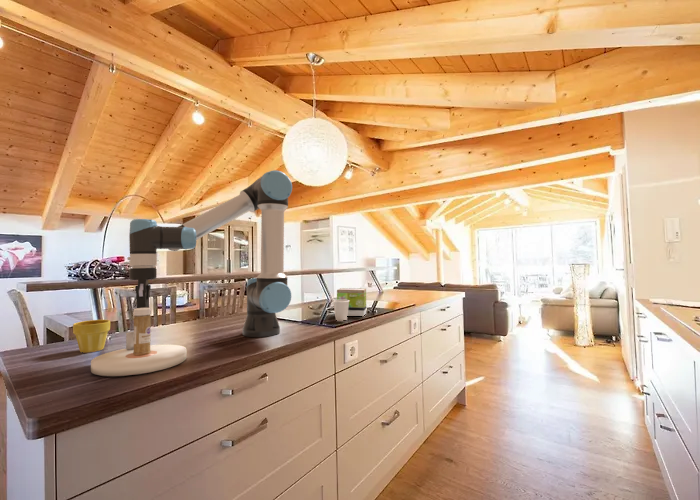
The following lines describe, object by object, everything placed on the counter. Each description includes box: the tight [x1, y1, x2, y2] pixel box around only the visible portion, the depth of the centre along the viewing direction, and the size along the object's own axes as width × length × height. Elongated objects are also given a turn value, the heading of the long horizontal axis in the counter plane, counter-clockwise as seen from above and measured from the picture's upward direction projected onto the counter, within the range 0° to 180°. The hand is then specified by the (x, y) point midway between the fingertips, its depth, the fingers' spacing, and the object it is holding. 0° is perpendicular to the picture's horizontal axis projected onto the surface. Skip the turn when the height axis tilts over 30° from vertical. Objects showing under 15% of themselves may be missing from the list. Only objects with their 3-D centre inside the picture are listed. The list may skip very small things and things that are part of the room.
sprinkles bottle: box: [132, 307, 152, 356], centre depth 102 cm, size 5×5×14 cm
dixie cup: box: [332, 299, 349, 322], centre depth 173 cm, size 8×8×10 cm
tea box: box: [336, 287, 367, 317], centre depth 188 cm, size 15×10×15 cm
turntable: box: [90, 331, 188, 377], centre depth 102 cm, size 24×24×7 cm
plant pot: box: [72, 319, 111, 354], centre depth 120 cm, size 10×10×10 cm
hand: (143, 340), depth 111 cm, fingers closed
